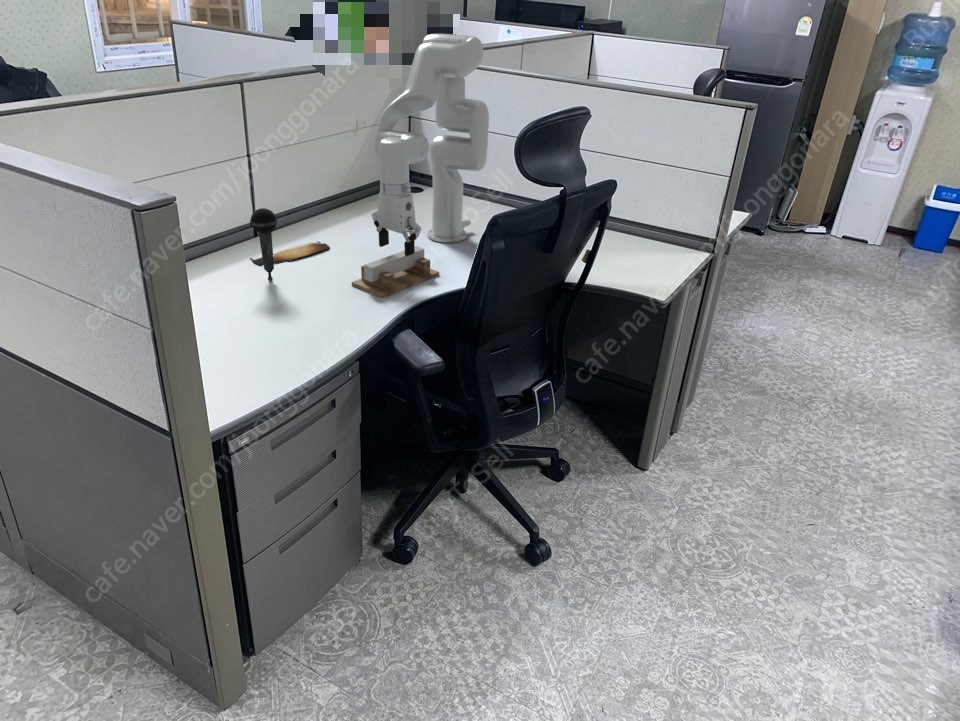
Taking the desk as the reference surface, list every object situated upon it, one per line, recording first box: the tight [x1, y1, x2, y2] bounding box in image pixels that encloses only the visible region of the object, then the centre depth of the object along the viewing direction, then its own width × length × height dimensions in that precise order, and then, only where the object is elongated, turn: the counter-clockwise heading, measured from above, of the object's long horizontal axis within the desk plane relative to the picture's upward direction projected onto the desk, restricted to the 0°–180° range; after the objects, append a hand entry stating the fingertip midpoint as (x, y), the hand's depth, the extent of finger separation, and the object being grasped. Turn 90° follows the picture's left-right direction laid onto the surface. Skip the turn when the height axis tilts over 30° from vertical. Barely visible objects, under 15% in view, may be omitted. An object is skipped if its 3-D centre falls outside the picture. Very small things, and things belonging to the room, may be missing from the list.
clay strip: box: [363, 245, 425, 282], centre depth 196 cm, size 20×3×4 cm, turn 141°
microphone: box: [249, 208, 278, 282], centre depth 190 cm, size 7×7×20 cm
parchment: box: [250, 240, 331, 267], centre depth 213 cm, size 25×10×1 cm, turn 135°
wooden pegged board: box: [351, 257, 440, 299], centre depth 197 cm, size 22×12×5 cm, turn 141°
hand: (396, 250), depth 195 cm, fingers open, 9 cm apart
